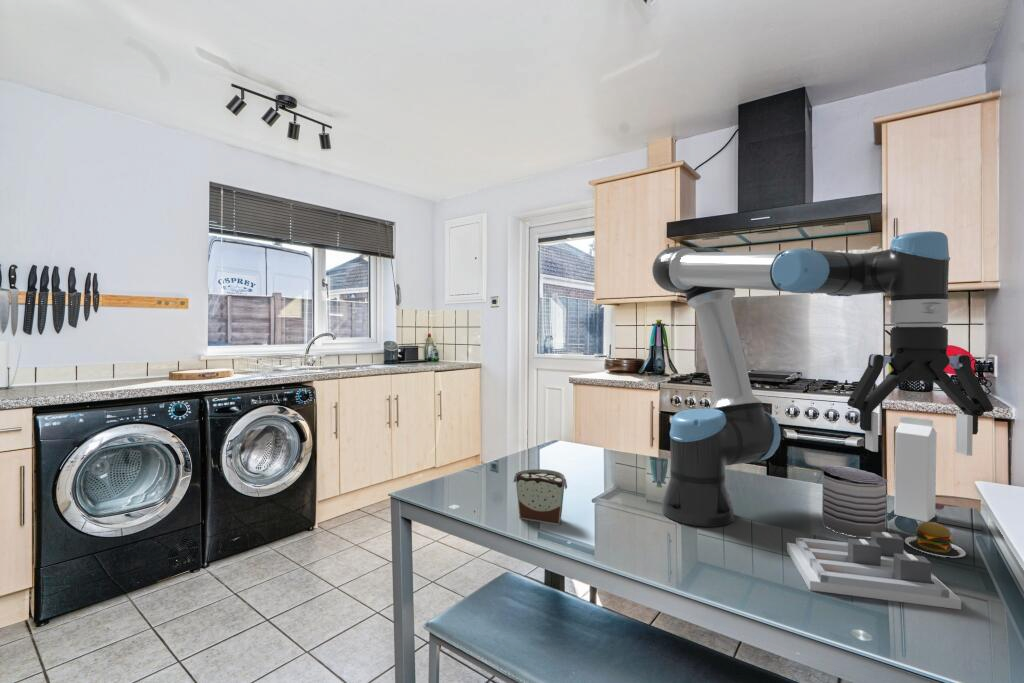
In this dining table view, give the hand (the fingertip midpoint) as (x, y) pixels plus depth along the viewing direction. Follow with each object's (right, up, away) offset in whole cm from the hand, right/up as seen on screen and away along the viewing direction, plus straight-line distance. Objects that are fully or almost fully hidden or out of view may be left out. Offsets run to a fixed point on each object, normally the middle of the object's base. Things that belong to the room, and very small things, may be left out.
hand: (916, 452), depth 84 cm
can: (+4, -21, +21) cm, 30 cm away
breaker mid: (-9, -19, 0) cm, 21 cm away
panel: (-9, -21, 0) cm, 23 cm away
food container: (-61, -21, +28) cm, 70 cm away
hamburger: (+12, -22, +11) cm, 27 cm away
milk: (+22, -21, +28) cm, 42 cm away
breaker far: (-3, -19, +3) cm, 20 cm away
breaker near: (-5, -19, -5) cm, 21 cm away
